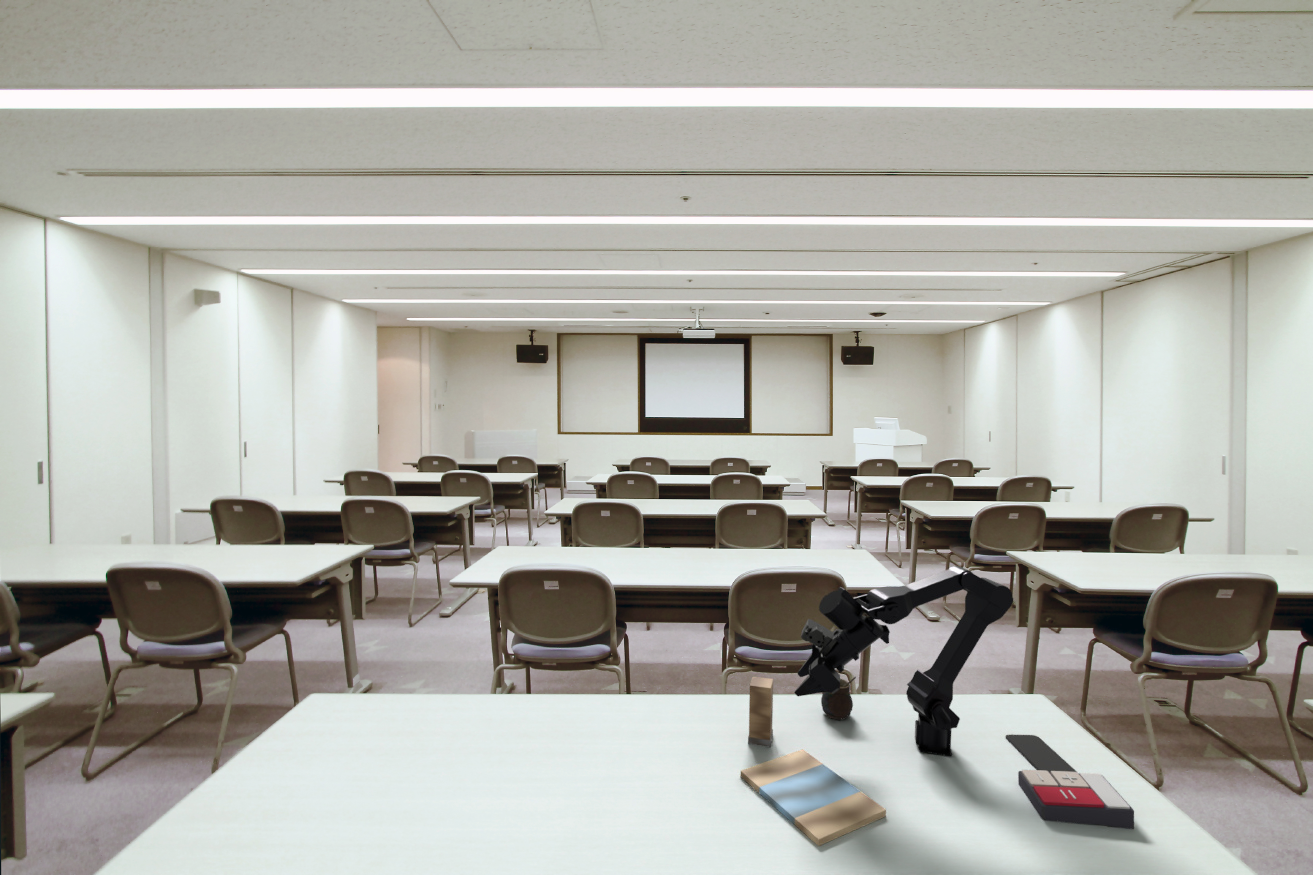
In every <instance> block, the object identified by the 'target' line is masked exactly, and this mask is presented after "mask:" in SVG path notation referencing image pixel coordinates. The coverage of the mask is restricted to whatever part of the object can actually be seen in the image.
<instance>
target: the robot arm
mask: <svg viewBox="0 0 1313 875" xmlns="http://www.w3.org/2000/svg"><path fill="white" fill-rule="evenodd" d="M962 590H963V591H964V592H966V594H965V598H964V612H963V613H962V614H963V615H962V616H961V617H960V619H959V621H958V623H957V624H956V625H955V628H954V630H952V632H951V634H950V635H949V638H948V639H947V641H946V643H945V644H944V646H943V648H942V649H941V651H940V652H939V654H938V656H937V657H936V659H935V661H934V663H933V664H932V666H931V667H930V668H929V669H927V670H925V671H924V672H922V671H921V670H919V669H917V670H916V671H915V672H914V673H913V677H912V679H911V680H910V681H909V682H908V683H907V684H906V686H907V689H906V692H905V693H906V697H907V701H908V703H909V704H910V705H911V707H912V709H913V711H915V712H916V713H917V714H918V715H917V719H916V720H914V741H915V742H914V743H915V744H916V745H917V747H918V752H921V753H927V754H933V755H938V756H939V755H940V756H946V757H953V751H952V729H957V728H958V726H959V723H960V721H961V718H960V717H959V715H957V713H955V712H954V711H953V710H952V709H951V708H950V707H951V704H952V701H953V698H954V682H955V680H956V679H957V677H958V675H959V674H960V672H961V671H962V669H963V667H964V666H965V664H966V663H967V661H968V659H969V657H970V655H972V652H973V651H974V649H975V647H976V646H977V645H978V642H979V641H980V639H981V637H982V636H983V635H984V632H985V631H986V629H987V628H988V627H989V625H992V624H993V623H995V622H996V621H999V620H1001V618H1003V617H1004V616H1005V614H1006V613H1007V612H1008V611H1009V610H1010V608H1011V607H1012V605H1013V603H1014V597H1013V592H1012V590H1011V589H1010V588H1009V587H1008V586H1006V585H1003V584H1001V583H999V582H996V581H994V580H991V579H989V578H987V577H980V576H978V575H977V574H975V573H974V572H972V571H971V570H968V569H966V568H964V567H961V566H958V565H955V566H954V565H953V566H950V567H949V568H948V569H946V570H943V571H940V572H938V573H935V574H933V575H930V576H927V577H924V578H922V579H919V580H916V581H913V582H911V583H908V584H904V585H901V586H889V585H887V586H883V587H877V588H872V589H871V590H869V591H868V592H867V594H862V595H859V596H854V597H853V596H852V595H851V594H850V592H848V590H846V589H845V588H844V587H841V586H839V587H838V589H837V590H834V591H830V592H829V593H828V594H826V595H824V596H823V597H822V599H821V600H820V602H819V606H818V611H819V612H820V613H821V614H822V615H823V616H824V617H825V618H826V619H827V620H829V621H830V622H831V623H832V624H834V626H836V627H837V628H835V629H834V630H833V631H832V630H830V629H828V627H826V626H824V625H822V624H820V623H818V622H816V621H814V620H813V619H811V618H808V619H807V621H805V625H804V626H803V629H802V630H801V634H800V638H801V639H802V640H803V641H805V642H809V643H810V644H811V653H810V654H809V656H808V658H807V659H806V661H805V662H804V663H803V665H802V666H801V668H799V670H798V671H797V676H798V677H800V678H803V677H806V678H805V679H804V680H803V681H802V682H801V683H800V684H799V686H798V687H797V688H796V689H795V690H794V695H796V697H801V696H802V697H803V696H808V695H814V694H823V693H824V692H827V693H831V694H834V693H835V692H836V691H838V690H839V689H840V679H841V673H842V672H844V671H845V666H846V665H848V664H849V663H850V662H851V661H852V660H854V661H855V662H856V661H857V660H859V659H860V654H861V653H863V652H864V651H865V650H867V649H868V648H869V647H871V645H872V644H875V642H876V641H877V640H879V639H881V641H883V642H884V644H887V645H888V644H890V633H891V632H890V629H889V627H888V625H894V624H897V623H898V622H900V621H902V620H904V619H905V618H907V617H909V616H910V614H911V613H912V611H913V610H914V609H916V608H918V607H920V606H923V605H925V604H929V603H930V602H933V601H936V600H939V599H941V598H943V597H947V596H950V595H952V594H955V593H957V592H959V591H962ZM864 614H865V615H864ZM866 615H867V616H866ZM877 620H879V621H881V622H882V623H884V624H879V623H878V622H877ZM839 673H840V674H839Z"/></svg>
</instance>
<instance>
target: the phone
mask: <svg viewBox="0 0 1313 875" xmlns="http://www.w3.org/2000/svg"><path fill="white" fill-rule="evenodd" d="M1005 740H1007V741H1008V743H1010V744H1011V745H1012V747H1014V749H1015V750H1017V751H1018V753H1019V754H1020V755H1021V756H1022V757H1024V759H1025V760H1026V761H1027V762H1028V763H1029V764H1030V765H1031V766H1032V767H1033V768H1034V770H1043V771H1048V772H1051V771H1067V772H1077V773H1078V771H1077V770H1076V769H1074V767H1073V766H1071V765H1070V764H1069V763H1068V762H1067V761H1066V760H1065V759H1063V757H1062V756H1061V755H1059V754H1058V753H1057V752H1056V751H1055V750H1053V748H1052V747H1051V746H1049V745H1048V744H1047V743H1046V742H1045V741H1044V740H1043V739H1041V738H1040V737H1039V736H1037V735H1035V734H1006V735H1005Z"/></svg>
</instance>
